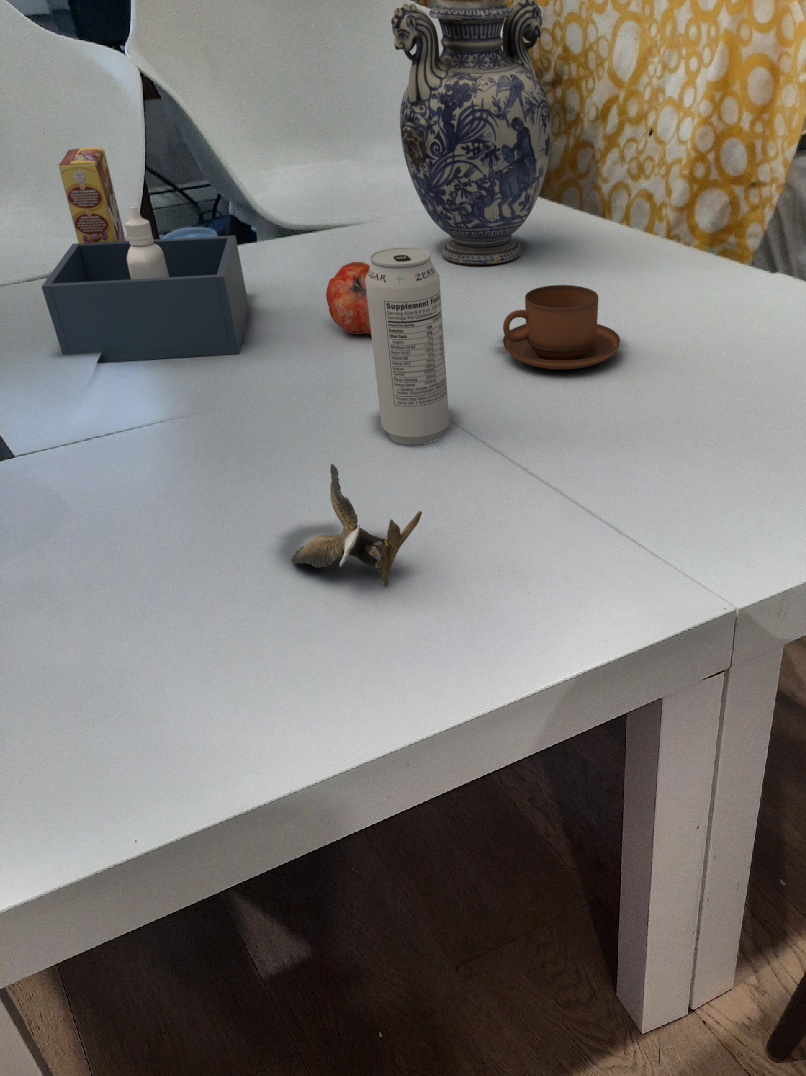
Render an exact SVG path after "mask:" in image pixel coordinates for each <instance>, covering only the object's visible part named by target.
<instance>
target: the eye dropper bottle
mask: <svg viewBox="0 0 806 1076" xmlns="http://www.w3.org/2000/svg"><path fill="white" fill-rule="evenodd" d="M124 227H125V230H126V235H127V238H128V241H129V243H130V244H131V246H130V248H129V251H128V254H127V264H128V268H129V272H130V276H131V279H147V278H165V277H169V274H168V270H167V266H166V261H165V257H164V254H163V251H162V249H161V248H160V247H159V246H158V245H156V244H154V243H153V242H154V240H155V239H154V236H153V231H152V227H151V223H150V221H149V220H148V219H145V218H143V217H142V215H141V214H140V212H139V209H138V207H137V206H130V207H129V219H128V220H127V221H125V222H124Z"/></svg>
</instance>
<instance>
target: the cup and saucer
mask: <svg viewBox="0 0 806 1076" xmlns="http://www.w3.org/2000/svg"><path fill="white" fill-rule="evenodd" d="M598 314H599V294H598V293H597V292H596V291H595V290H593V289H591V288H588V287H585V286H581V285H580V286H579V285H572V284H571V285H570V284H554V285H545V286H540V287H537V288H533V289H531V290H529V291H528V292H526V294H525V295H524V309H518V310H517V309H516V310H514V311H512V312H510V313H509V314H507V316H506V317H505V318H504V320H503V323H502V330H503V334H504V336H503V338H502V344H503V347H504V349H505V351H506V352H507V353H508V354H509V355H510V356H511V357H512V358H513V359H515V360H517V361H519V362H520V363H523V364H526V365H528V366H532V367H535V368H540V369H547V370H549V369H550V370H574V369H582V368H587V367H591V366H595V365H597V364H600V363H602V362H604V361H606V360H608V359H609V358H610V357H612V356H613V355H614V354H615V353H616V352H617V351H618V349H619V347H620V343H621V338H620V335H619V334H618V333H617V332H616V331H615V330H614V329H612V328H610V327H608V326H606V325H603V324H599V323H598V318H599V317H598V316H599V315H598ZM516 318H522V319H525V323H524V324H521V325H519V326H516V327H513V328H512V329H510V326H511V323H512V322H513V320H514V319H516Z"/></svg>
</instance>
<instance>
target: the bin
mask: <svg viewBox="0 0 806 1076" xmlns="http://www.w3.org/2000/svg"><path fill="white" fill-rule="evenodd" d="M153 240H154V242H153V243H154V244H156V245H158V246H159V247H160V248H161V249H162V251H163V254H164V257H165V261H166V266H167V270H168V274H169V277H165V278H147V279H131V276H130V272H129V268H128V264H127V254H128V251H129V248H130V246H131V244H130V243H129V240H126V241H117V242H97V243H78V242H77V243H71V245H70V247H69V248H68V249H67V251H66V252H65V253H64V255H63V256H62V258H60V261H59V262H57V265H56V266H55V267H54V269H53V270H52V271H51V273H50V274H49V275H48V277H47V278H46V279H45V280H44V283H42V284H41V291H42V294H43V297H44V301H45V302H46V306H47V310H48V313H49V316H50V318H51V322H52V325H53V328H54V332H55V335H56V338H57V341H58V344H59V347H60V350H61V353H62V355H63V356H66V355H67V356H69V355H83V354H85V355H86V354H99V353H100V354H99V357H98V359H97V361H96V363H97V364H102V363H117V362H133V361H135V362H136V361H146V360H163V359H164V360H165V359H180V358H196V357H197V358H198V357H210V356H226V355H227V356H229V355H239V354H240V352H241V347H242V342H243V338H244V333H245V327H246V323H247V317H248V313H249V308H250V305H249V301H248V300H249V299H248V293H247V288H246V283H245V278H244V272H243V268H242V262H241V257H240V252H239V246H238V240H237V236H236V235H235V234H233V235H219V236H202V237H201V236H199V237H197V236H196V237H180V238H179V237H178V238H177V237H176V238H159V239H153Z"/></svg>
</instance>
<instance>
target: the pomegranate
mask: <svg viewBox="0 0 806 1076" xmlns="http://www.w3.org/2000/svg"><path fill="white" fill-rule="evenodd" d="M369 268H370V265H369V264H368V263H366V262H364V261H352V262H349V263H347V264H345V265H342V266H341V267H340V268H339V270H337V272H336V273H335V275H334V276H333V277H332V278H330V280H329V281H328V283H327V287H326V292H325V298H326V303H327V307H328V312H329V315H330V317H331V319H332V320H333V321H334V323H336V324H337V325H338V327H339V328H341V329H342V330H344V331H345V332H347V333H349V334H352V335H364V334H365V335H366V334H369V335H371V327H370V319H369V310H368V301H367V292H366V283H365V279H366V275H367V273H368V270H369Z"/></svg>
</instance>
